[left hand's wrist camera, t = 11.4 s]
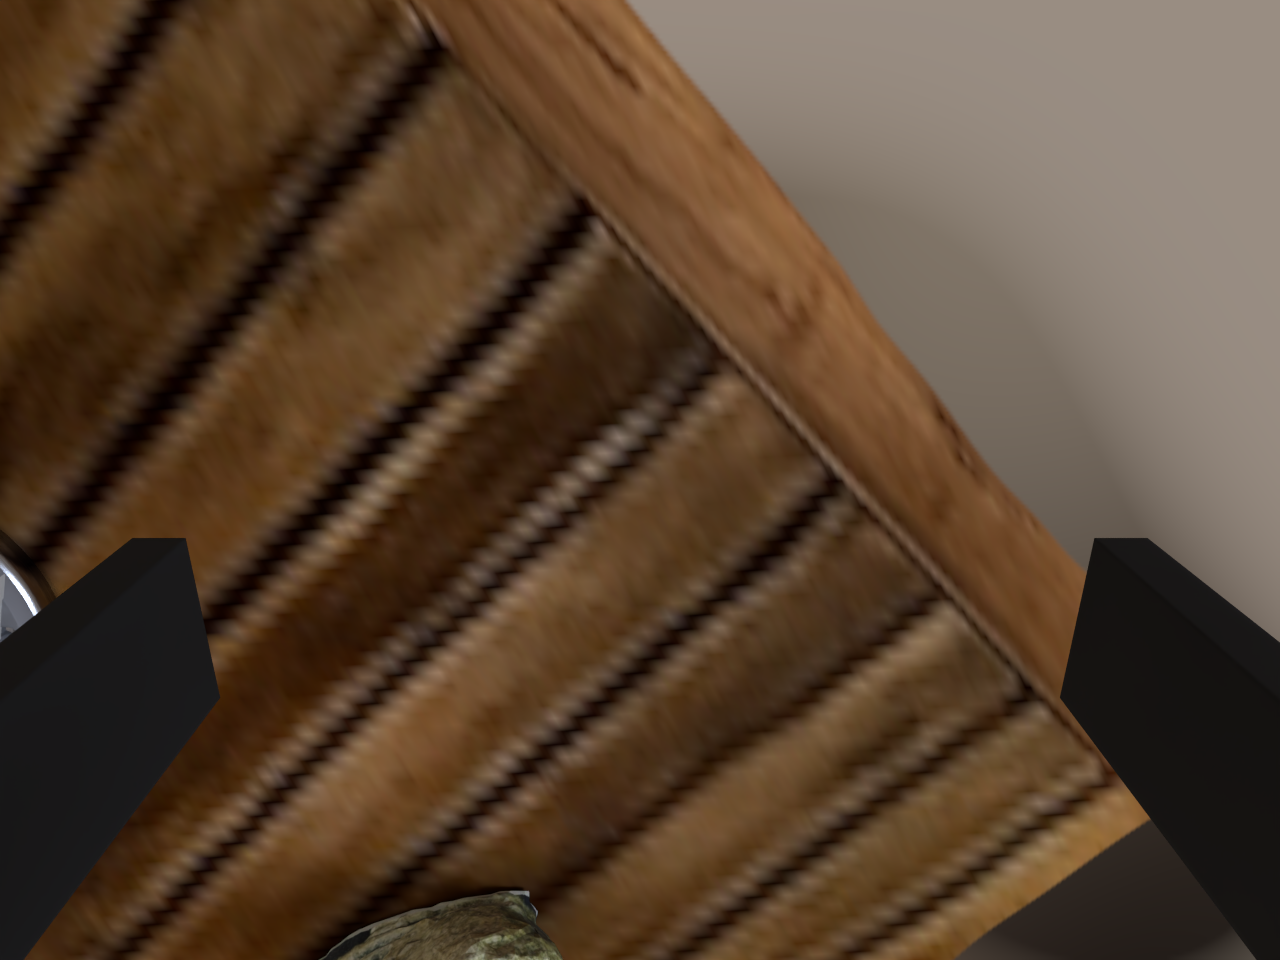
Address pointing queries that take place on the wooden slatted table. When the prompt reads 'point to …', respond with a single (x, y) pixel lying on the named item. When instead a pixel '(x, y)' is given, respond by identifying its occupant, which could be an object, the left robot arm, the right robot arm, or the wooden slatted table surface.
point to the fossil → (455, 933)
